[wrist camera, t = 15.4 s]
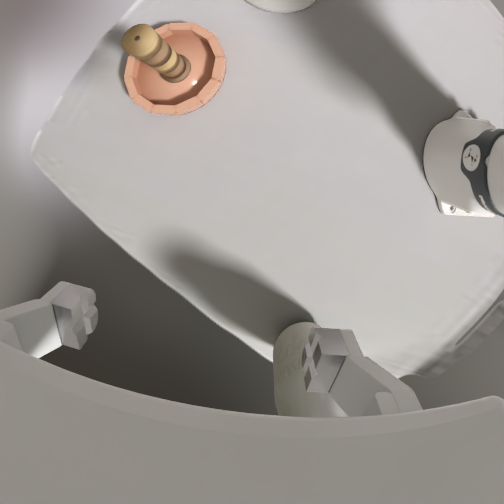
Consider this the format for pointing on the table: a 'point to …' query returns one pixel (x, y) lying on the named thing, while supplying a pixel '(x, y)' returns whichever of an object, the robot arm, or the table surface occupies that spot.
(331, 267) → the table surface
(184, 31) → the dish
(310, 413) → the glass bottle
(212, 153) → the table surface
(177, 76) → the tan wooden ridged cylinder
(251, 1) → the candlestick
